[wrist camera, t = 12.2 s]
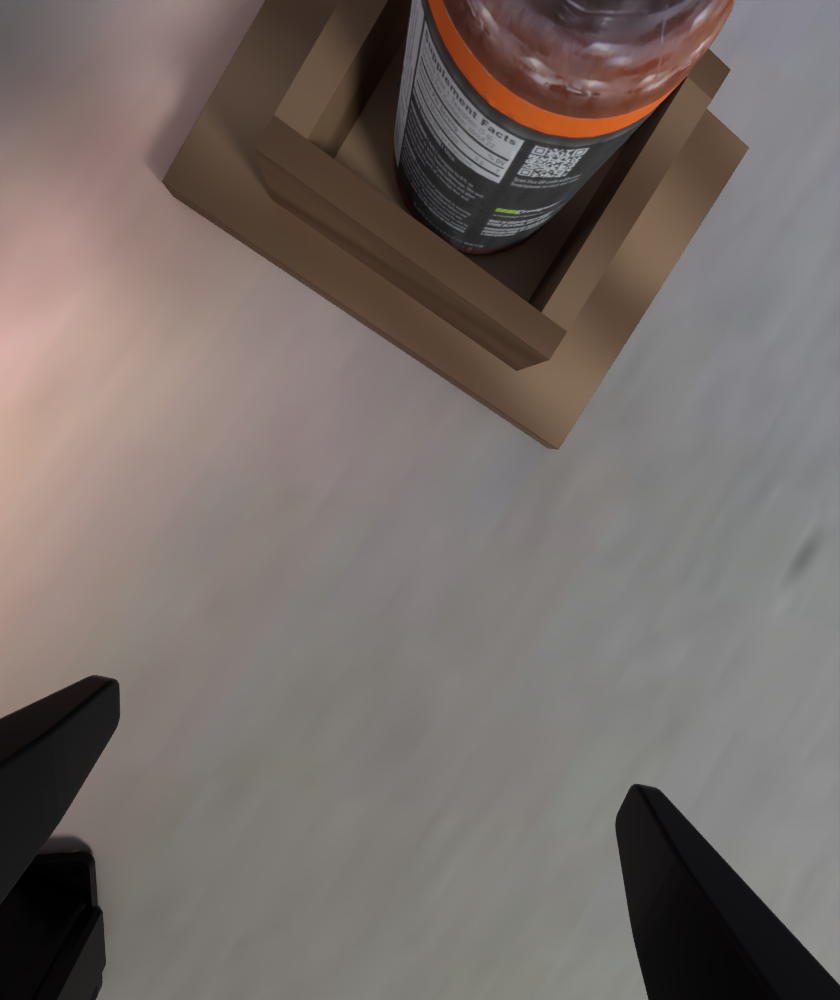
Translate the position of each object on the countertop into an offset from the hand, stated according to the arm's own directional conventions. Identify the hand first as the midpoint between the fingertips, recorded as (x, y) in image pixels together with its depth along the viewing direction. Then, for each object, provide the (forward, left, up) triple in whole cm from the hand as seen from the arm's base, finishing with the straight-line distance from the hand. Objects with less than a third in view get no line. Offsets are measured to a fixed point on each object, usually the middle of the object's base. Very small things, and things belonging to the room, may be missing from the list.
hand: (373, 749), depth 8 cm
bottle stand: (+4, +15, -11) cm, 19 cm away
